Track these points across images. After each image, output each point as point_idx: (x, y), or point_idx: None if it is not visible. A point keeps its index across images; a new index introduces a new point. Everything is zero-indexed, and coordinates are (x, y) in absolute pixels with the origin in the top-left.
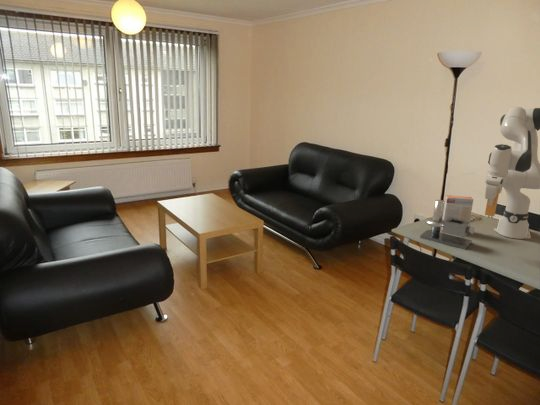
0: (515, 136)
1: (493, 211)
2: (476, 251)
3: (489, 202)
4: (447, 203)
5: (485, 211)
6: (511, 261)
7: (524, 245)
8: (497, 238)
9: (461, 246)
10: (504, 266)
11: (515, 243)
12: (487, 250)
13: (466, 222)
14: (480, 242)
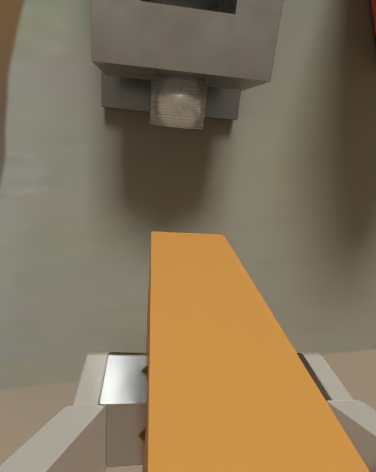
0: None
1: (146, 346)
2: (117, 164)
3: (77, 404)
4: None
5: (151, 249)
6: (104, 308)
7: (333, 321)
8: (371, 221)
9: (102, 79)
10: (21, 295)
11: (340, 292)
12: (170, 207)
13: (226, 43)
14: (267, 159)
